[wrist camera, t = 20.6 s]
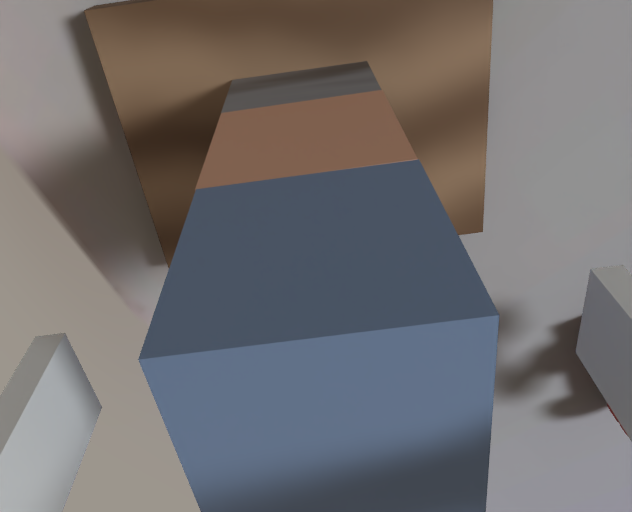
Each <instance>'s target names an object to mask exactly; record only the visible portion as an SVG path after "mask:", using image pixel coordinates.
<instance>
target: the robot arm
mask: <svg viewBox="0 0 632 512" xmlns="http://www.w3.org/2000/svg"><path fill="white" fill-rule="evenodd" d="M576 354H577V356H578V357H579V359H580V360H581V362H582V363H583V365H584V367H585V368H586V370H587V371H588V373H589V375H590V376H591V378H592V379H593V381H594V383H595V384H596V386H597V387H598V389H599V391H600V392H601V394H602V395H603V397H604V398H605V400H606V402H607V403H608V405H609V406H610V408H611V410H612V411H613V413H614V414H615V416H616V418H617V419H618V421H619V422H620V424H621V425H622V427H623V429H624V430H625V432H626V433H627V435H628V437H629V438H630V440H631V441H632V275H631V274H630V273H629V272H628V271H627V269H626V268H625V267H624V266H623V265H619V266H611V267H603V268H594V269H590V275H589V280H588V286H587V291H586V297H585V302H584V308H583V313H582V319H581V324H580V330H579V335H578V341H577V346H576ZM101 408H102V406H101V404H100V402H99V400H98V398H97V396H96V394H95V392H94V390H93V388H92V386H91V384H90V382H89V380H88V378H87V376H86V374H85V372H84V370H83V368H82V366H81V364H80V362H79V360H78V358H77V356H76V354H75V352H74V350H73V348H72V347H71V344H70V342H69V340H68V338H67V336H66V334H65V333H61V334H53V335H46V336H37V337H35V338H34V340H33V342H32V343H31V345H30V347H29V348H28V350H27V352H26V353H25V355H24V357H23V359H22V360H21V362H20V364H19V365H18V367H17V369H16V370H15V372H14V374H13V375H12V377H11V379H10V380H9V382H8V384H7V385H6V387H5V389H4V390H3V392H2V394H1V395H0V512H62V511H63V508H64V506H65V503H66V501H67V498H68V495H69V493H70V490H71V487H72V485H73V482H74V480H75V477H76V474H77V471H78V469H79V466H80V463H81V461H82V458H83V456H84V453H85V451H86V448H87V445H88V443H89V439H90V437H91V435H92V432H93V430H94V427H95V424H96V422H97V419H98V416H99V414H100V411H101Z"/></svg>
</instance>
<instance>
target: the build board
mask: <svg viewBox="0 0 632 512" xmlns="http://www.w3.org/2000/svg"><path fill="white" fill-rule="evenodd" d="M84 12H85V16H86V19H87V22H88V25H89V28H90V31H91V34H92V37H93V40H94V43H95V46H96V49H97V52H98V55H99V58H100V61H101V64H102V67H103V70H104V73H105V76H106V79H107V82H108V85H109V88H110V91H111V94H112V97H113V100H114V104H115V107H116V110H117V113H118V116H119V119H120V122H121V125H122V128H123V131H124V134H125V137H126V140H127V143H128V146H129V149H130V152H131V155H132V158H133V161H134V164H135V167H136V170H137V173H138V176H139V179H140V182H141V185H142V188H143V192H144V195H145V198H146V201H147V204H148V207H149V210H150V213H151V216H152V219H153V222H154V225H155V228H156V231H157V234H158V237H159V240H160V243H161V246H162V249H163V252H164V255H165V258H166V261H167V264H168V267H169V268H170V265H171V262H172V259H173V256H174V253H175V250H176V247H177V244H178V241H179V238H180V235H181V232H182V229H183V226H184V223H185V220H186V217H187V215H188V212H189V209H190V206H191V203H192V200H193V197H194V194H195V188H196V185H197V182H198V179H199V176H200V173H201V171H202V168H203V165H204V162H205V159H206V156H207V153H208V150H209V147H210V144H211V141H212V138H213V135H214V133H215V130H216V127H217V124H218V121H219V118H220V115H221V113H224V112H231V111H238V110H245V109H252V108H259V107H266V106H273V105H280V104H287V103H294V102H301V101H308V100H315V99H322V98H329V97H335V96H342V95H349V94H356V93H363V92H370V91H377V90H383V92H384V94H385V96H386V98H387V100H388V102H389V104H390V106H391V107H392V109H393V111H394V113H395V115H396V117H397V119H398V121H399V123H400V125H401V127H402V129H403V131H404V133H405V135H406V137H407V139H408V141H409V143H410V145H411V147H412V149H413V151H414V153H415V155H416V157H417V158H418V159H419V160H420V162H421V164H422V166H423V168H424V170H425V172H426V174H427V176H428V178H429V179H430V181H431V183H432V185H433V187H434V189H435V191H436V193H437V195H438V197H439V199H440V201H441V203H442V205H443V207H444V209H445V211H446V213H447V214H448V216H449V218H450V220H451V222H452V224H453V226H454V228H455V230H456V232H457V234H458V235H462V234H470V233H478V232H483V214H484V192H485V170H486V148H487V125H488V103H489V81H490V59H491V37H492V15H493V0H130V1H123V2H116V3H109V4H103V5H96V6H93V7H91V8H89V9H87V10H85V11H84Z"/></svg>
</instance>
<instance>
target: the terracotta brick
mask: <svg viewBox="0 0 632 512" xmlns="http://www.w3.org/2000/svg"><path fill="white" fill-rule="evenodd" d="M410 160H418V158H417V157H416V155H415V153H414V151H413V149H412V147H411V145H410V143H409V141H408V139H407V137H406V135H405V133H404V131H403V129H402V127H401V125H400V123H399V121H398V119H397V117H396V115H395V113H394V111H393V109H392V107H391V106H390V104H389V102H388V100H387V98H386V96H385V94H384V92H383V90H377V91H370V92H363V93H356V94H349V95H342V96H335V97H329V98H322V99H315V100H308V101H301V102H294V103H287V104H280V105H273V106H266V107H259V108H252V109H245V110H238V111H231V112H224V113H221V115H220V118H219V121H218V124H217V127H216V130H215V133H214V135H213V138H212V141H211V144H210V147H209V150H208V153H207V156H206V159H205V162H204V165H203V168H202V171H201V173H200V176H199V179H198V182H197V185H196V188H195V191H196V189H202V188H209V187H216V186H224V185H231V184H239V183H246V182H254V181H261V180H269V179H276V178H283V177H291V176H298V175H306V174H313V173H321V172H328V171H336V170H343V169H351V168H358V167H365V166H373V165H380V164H388V163H395V162H403V161H410Z"/></svg>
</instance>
